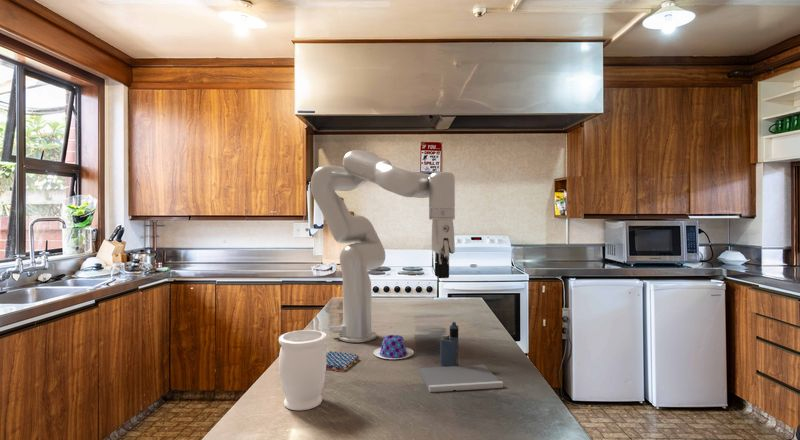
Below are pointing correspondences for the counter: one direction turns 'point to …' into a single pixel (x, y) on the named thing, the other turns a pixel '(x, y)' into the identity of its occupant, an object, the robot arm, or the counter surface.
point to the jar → (302, 368)
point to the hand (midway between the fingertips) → (441, 276)
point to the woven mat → (340, 361)
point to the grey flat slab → (459, 378)
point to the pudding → (393, 348)
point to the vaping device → (449, 347)
